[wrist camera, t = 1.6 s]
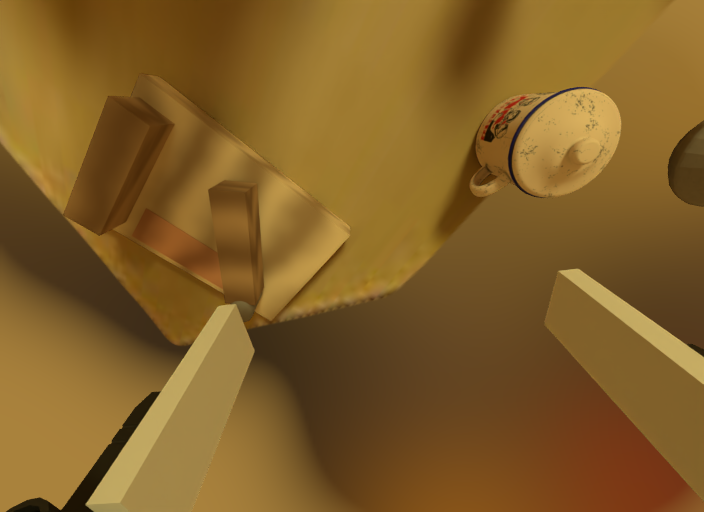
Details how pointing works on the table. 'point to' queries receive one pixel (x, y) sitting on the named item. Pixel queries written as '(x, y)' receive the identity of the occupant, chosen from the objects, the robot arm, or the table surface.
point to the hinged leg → (238, 243)
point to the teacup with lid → (546, 142)
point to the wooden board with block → (194, 192)
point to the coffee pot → (688, 167)
